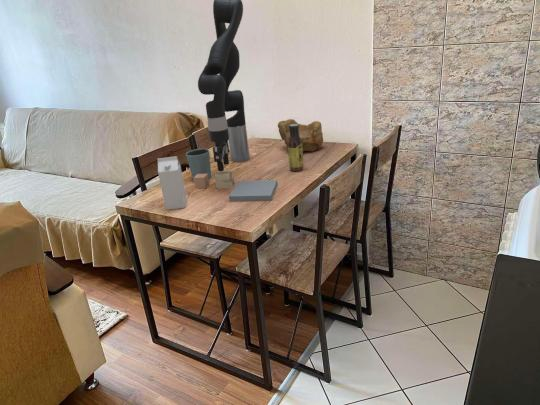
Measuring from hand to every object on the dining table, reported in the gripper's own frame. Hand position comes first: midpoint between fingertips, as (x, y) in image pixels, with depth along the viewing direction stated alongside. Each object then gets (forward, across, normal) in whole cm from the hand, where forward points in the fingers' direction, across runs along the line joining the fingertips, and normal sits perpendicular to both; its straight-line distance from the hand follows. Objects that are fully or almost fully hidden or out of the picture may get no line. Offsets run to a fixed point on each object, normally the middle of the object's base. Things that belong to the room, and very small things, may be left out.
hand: (223, 167), depth 163 cm
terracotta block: (+8, 0, +11) cm, 13 cm away
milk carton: (+8, -18, +15) cm, 25 cm away
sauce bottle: (+8, +18, -28) cm, 34 cm away
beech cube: (+8, 0, +1) cm, 8 cm away
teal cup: (+8, +12, +14) cm, 20 cm away
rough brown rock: (+8, +47, -26) cm, 54 cm away
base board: (+8, -8, -13) cm, 18 cm away
